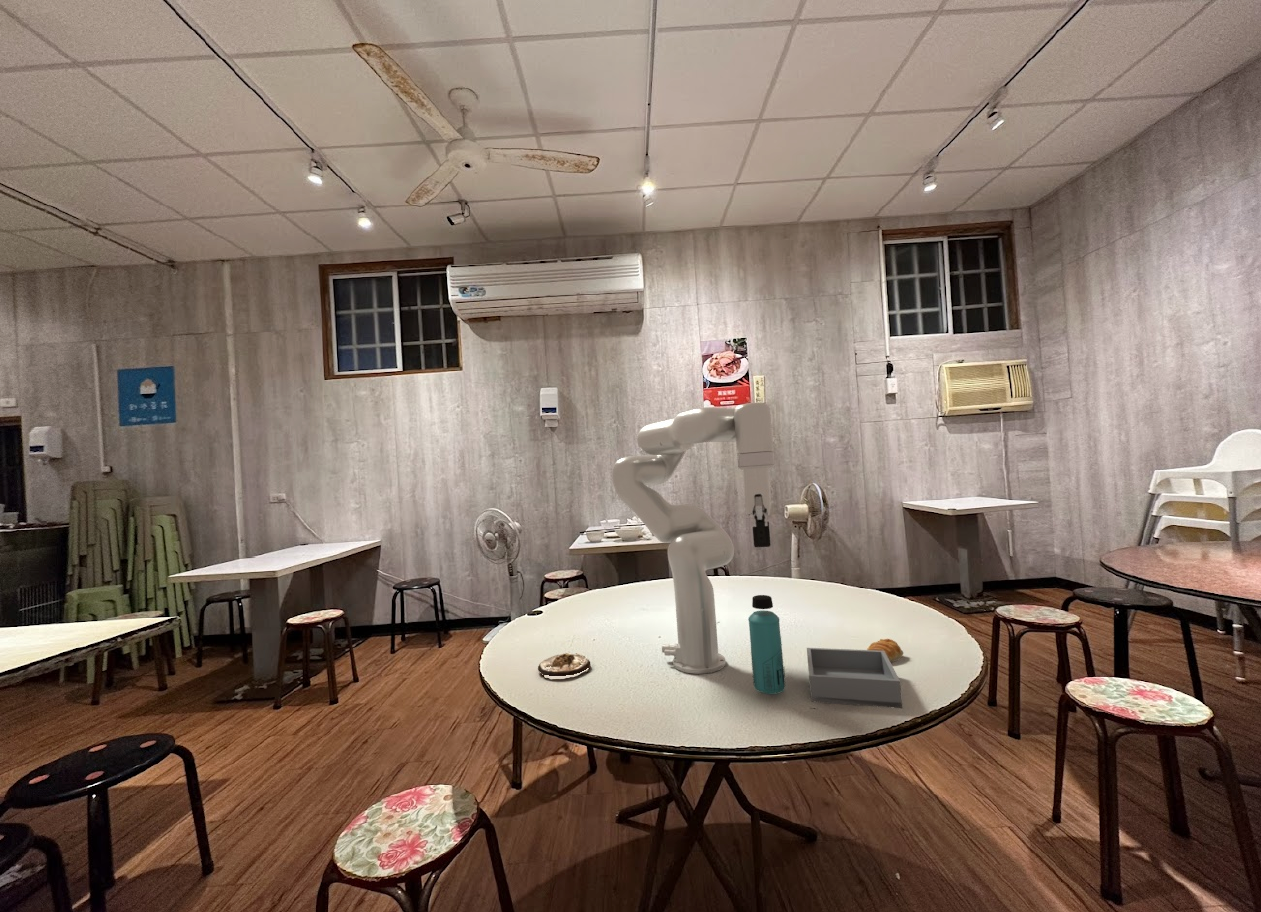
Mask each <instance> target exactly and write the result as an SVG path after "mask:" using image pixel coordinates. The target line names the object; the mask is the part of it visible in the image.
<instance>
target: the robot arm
mask: <svg viewBox="0 0 1261 912" xmlns="http://www.w3.org/2000/svg"><path fill="white" fill-rule="evenodd" d="M636 442H637V445H638V447H639V449H640V450H641V451H642V452H644V453H645V454H646V455H643V454H642V455H629V456H624V457H622V458H620V459H618V460H616V462H614V464H613V466H612V470H611V479H612V484H613V487H614V490H615V492H616V494H617V496H618V498H619V499H620V500H621V501H622V502H623V503H624V504H625V505H626V506H627V507H628V508H629V509H630V510H631V511H633V512H634V514H635V515H636V516H637V517H638V519H639V520H640V521H641V522H642V524H644V525H645V527H646V528H647V529H648V530H649V531H650V533H651V534H652V535H653V537H655V539H657V540H658V541H659V542H661V543H662V544H669V545H668V547H667V558H668V563H669V566H670V570H671V575H672V581H673V588H674V589H673V590H674V602H675V615H676V616H675V617H676V629H677V643H674V645H670V644H662V645H661V652H662V654H664V656H665V657H666V656H668V657H670V656H672V657H673V660H672V663H673V667H674V668H675V669H676V670H678V671H680V672H683V673H686V674H687V673H688V674H694V675H695V674H696V675H697V674H698V675H699V674H701V675H702V674H711V673H714V672H717V671H719V670H721V669H723V668H724V667H725V666H726V657H725V656H724V655H722V653H719V645H718V643H719V642H718V630H717V628H718V627H717V617H716V615H717V614H716V604H715V603H716V602H715V591H714V590H715V589H714V588H713V587H714V586H713V584H712V582H711V580H710V578H709V577H708V575H707V573H706V571H708V570H712V569H718V568H720V567H723V566H726V565H727V564H729V563H730V562H731V561H732V560H733V558H734V554H735V547H734V546H735V545H734V544H733V541H732V538H731V537H730V535H729V534H728V533H727V531H726V530H725V529H723V527H721V525H720V524H719V523H718V522H717V521H716V520H715V519H714V518H712V517H711V515H709V513H707V512H706V510H705V509H703V507H702V508H701V507H700V506H698V505H695V504H693V503H692V504H690V503H689V504H676V505H675V504H671V503H669V502H668V501H667V500H666V499H665V498H664V497H663V496H662V495H661V494H660V493H659V492H658V491H657V490H655V489H653V488H651V487H649V486H653V485H654V486H655V485H661V484H662V485H663V484H665V483H666V482H668V481H669V480H670V479H671V478H672V476H673V475H674V473H675V472H676V470H677V468H678V466H679V464H680V463H681V461H682V459H683V458H684V456H685V455H686V452H687V451H688V450H690V449H692V448H693V446H694V444H699V443H724V442H725V443H728V442H729V443H733V442H735V445H736V457H737V459H736V460H737V470H738V471H740V470H741V471H742V470H743V475H742V476H743V493H744V507H745V516H746V517H747V518H748V517H749V518H750V516H751V515H752V521H753V522H752V523H753V526H752V539H753V547H754V548H770V547H771V545H772V544H771V534H770V522H769V521H768V516H770V515H771V506H772V505H771V504H772V503H771V502H772V498H771V497H772V494H771V492H772V491H771V478H770V468H771V469H772V468H775V467H776V465H775V453H774V441H773V428H772V417H771V408H770V406H769V405H768V404H767V403H765V402H749V403H743V404H739V405H737V406H736V407H735V408H729V407H728V408H725V407H724V408H723V407H700V408H696V409H695V408H694V409H691V410H687V411H683V412H681V413H678V414H677V415H676V416H675V417H674V418H669V419H666V420H662V421H657V422H653V423H649V424H646V425H645V426H644V427H642V428H641V429H640V431H639V432H638V433H637V435H636Z"/></svg>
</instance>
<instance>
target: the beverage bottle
mask: <svg viewBox="0 0 1261 912" xmlns="http://www.w3.org/2000/svg"><path fill="white" fill-rule="evenodd" d="M751 603H752V604H751V606H752V608H754V609H756V611H753V613H751V614H750V615H749V617H748V625H749V627H748V628H749V640H750V641H749V642H750V648H749V649H750V655H751V656H750V657H751V669H752V672H751V673H752V675H751V676H752V684H753V686H754V688H755V690H757V692H760V693H763V694H768V695H769V694H770V695H771V694H780V693H782V692H784V691H785V690H786V689H785V687H786V685H787V684H786V676H785V675H786V673H785V672H786V671H785V667H784V654H783V647H782V646H783V643H782V634H781V629H780V626H781V625H780V617H779V616H778V615H777V614H776V613H774V612H773V611H771V610H769V609H772V608H773V607H774V605H773V604H774V603H773V598H772V596H770V595H766V594H758V595H754V596H752V601H751Z"/></svg>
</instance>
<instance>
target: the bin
mask: <svg viewBox="0 0 1261 912" xmlns="http://www.w3.org/2000/svg"><path fill="white" fill-rule="evenodd" d="M806 655H807V669H808V670H807V671H808V678H809V687H810V689H809V691H810V699H811V703H822V704H834V705H835V704H836V705H849V706H850V705H853V706H863V705H864V706H865V707H877V706H878V708H879V707H880V708H881V707H882V708H891V707H894V708H893V709H903V699H902V698H903V697H902V688H901V687H902V685H901V680H900V678H899V676H898V674H897V672H896V670H895V668H894V667H893V664H892V662H890V661H889V659H888V657H887V655H886V653H885V651H877V650H867V649H851V648H850V649H846V648H824V647H821V648H820V647H806Z"/></svg>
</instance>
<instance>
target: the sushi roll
mask: <svg viewBox="0 0 1261 912" xmlns="http://www.w3.org/2000/svg"><path fill="white" fill-rule="evenodd" d="M581 660H582V661H581ZM549 663H550V664H549ZM581 663H583V664H581ZM580 665H582V666H580ZM550 666H551V668H550V669H545V668H546V667H550ZM589 667H590V668H591V661H590V659H589V658H587V656H586V655H584V654H580V653H574V654H573V653H571V654H570V653H567V652H565V653H561V654H555V655H553V656H551V657H548V658H546V659H544V660H542V661H541V662H540V663H539V664H538V666H537V670H538V673H540V672H541V673H542V674H543V675H549V676H566V675H574V674H577V673H580V672H582V671H584V670H586V669H587V668H589ZM548 670H549V671H548Z"/></svg>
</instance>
